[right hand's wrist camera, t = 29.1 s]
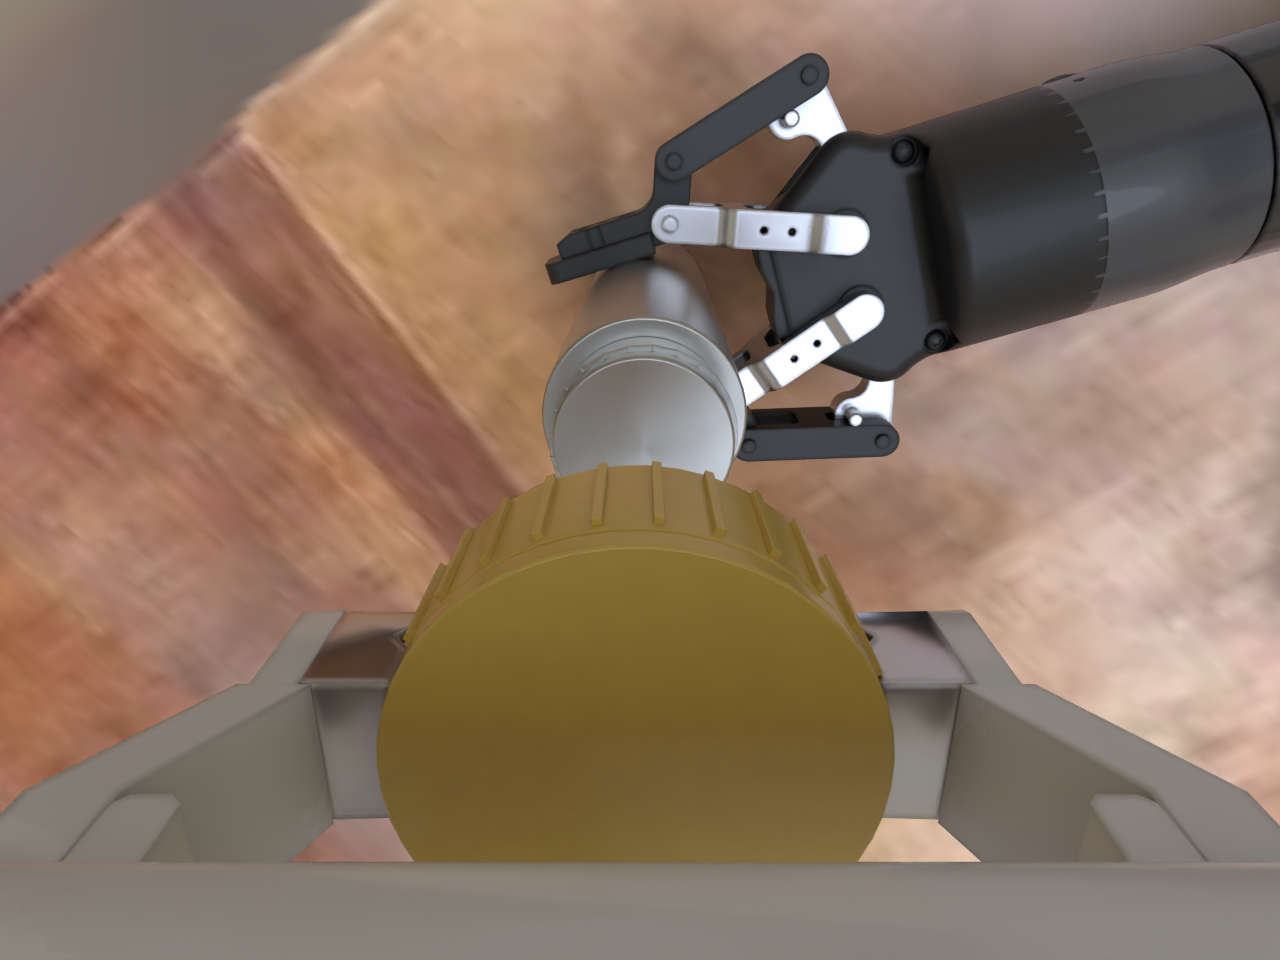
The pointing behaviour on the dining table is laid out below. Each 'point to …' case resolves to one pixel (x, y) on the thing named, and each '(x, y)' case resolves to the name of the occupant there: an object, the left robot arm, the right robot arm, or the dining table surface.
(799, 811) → the lid
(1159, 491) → the dining table surface
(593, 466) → the silver canister
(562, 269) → the left robot arm
